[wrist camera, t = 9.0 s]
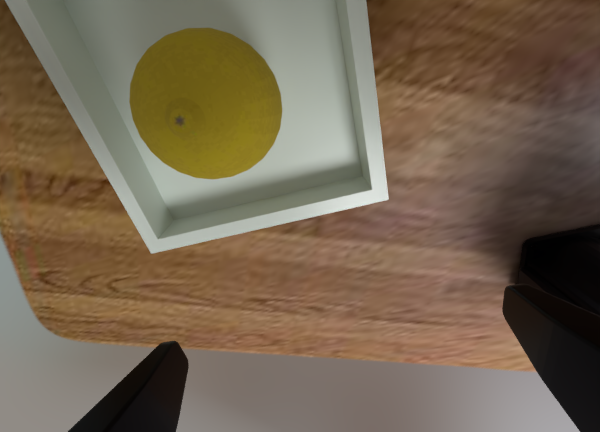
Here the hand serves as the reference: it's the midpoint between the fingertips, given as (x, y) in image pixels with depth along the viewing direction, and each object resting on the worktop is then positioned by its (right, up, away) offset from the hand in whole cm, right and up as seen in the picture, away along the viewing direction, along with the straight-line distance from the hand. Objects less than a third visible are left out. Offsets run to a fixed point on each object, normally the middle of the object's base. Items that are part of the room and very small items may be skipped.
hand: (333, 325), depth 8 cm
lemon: (-5, +9, +8) cm, 13 cm away
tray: (-5, +10, +8) cm, 13 cm away
